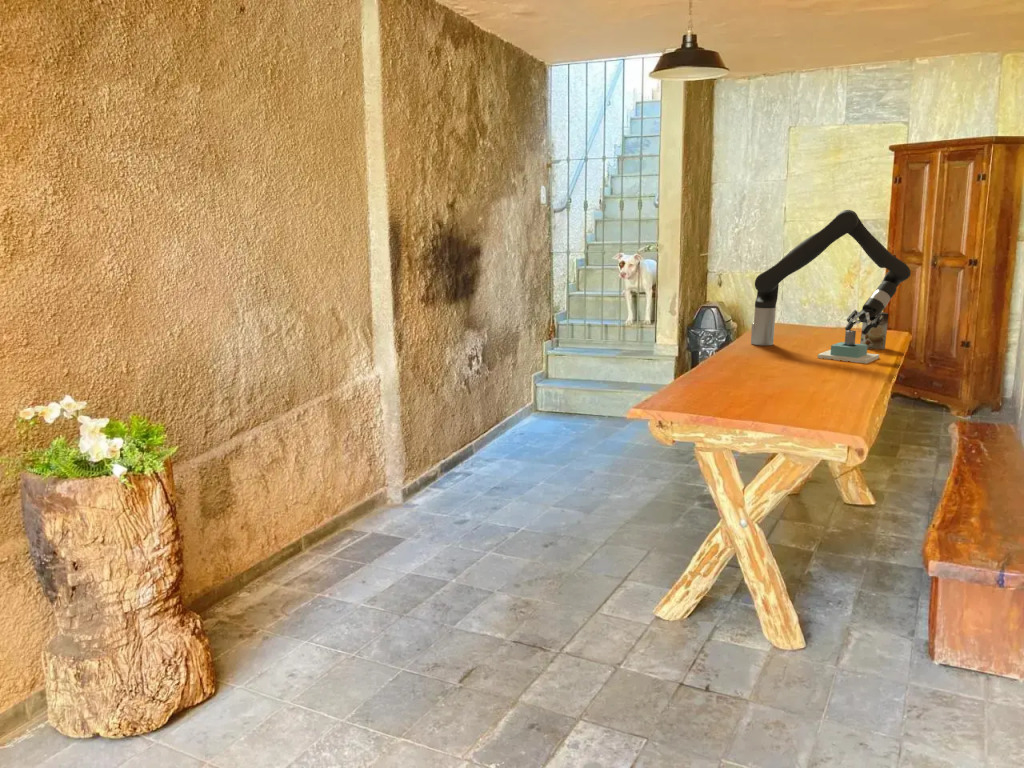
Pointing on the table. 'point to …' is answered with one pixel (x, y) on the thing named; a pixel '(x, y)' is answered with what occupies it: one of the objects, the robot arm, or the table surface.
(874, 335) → the coffee box
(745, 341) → the table surface
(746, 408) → the table surface
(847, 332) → the dark grey tall block
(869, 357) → the socket board
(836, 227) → the robot arm
